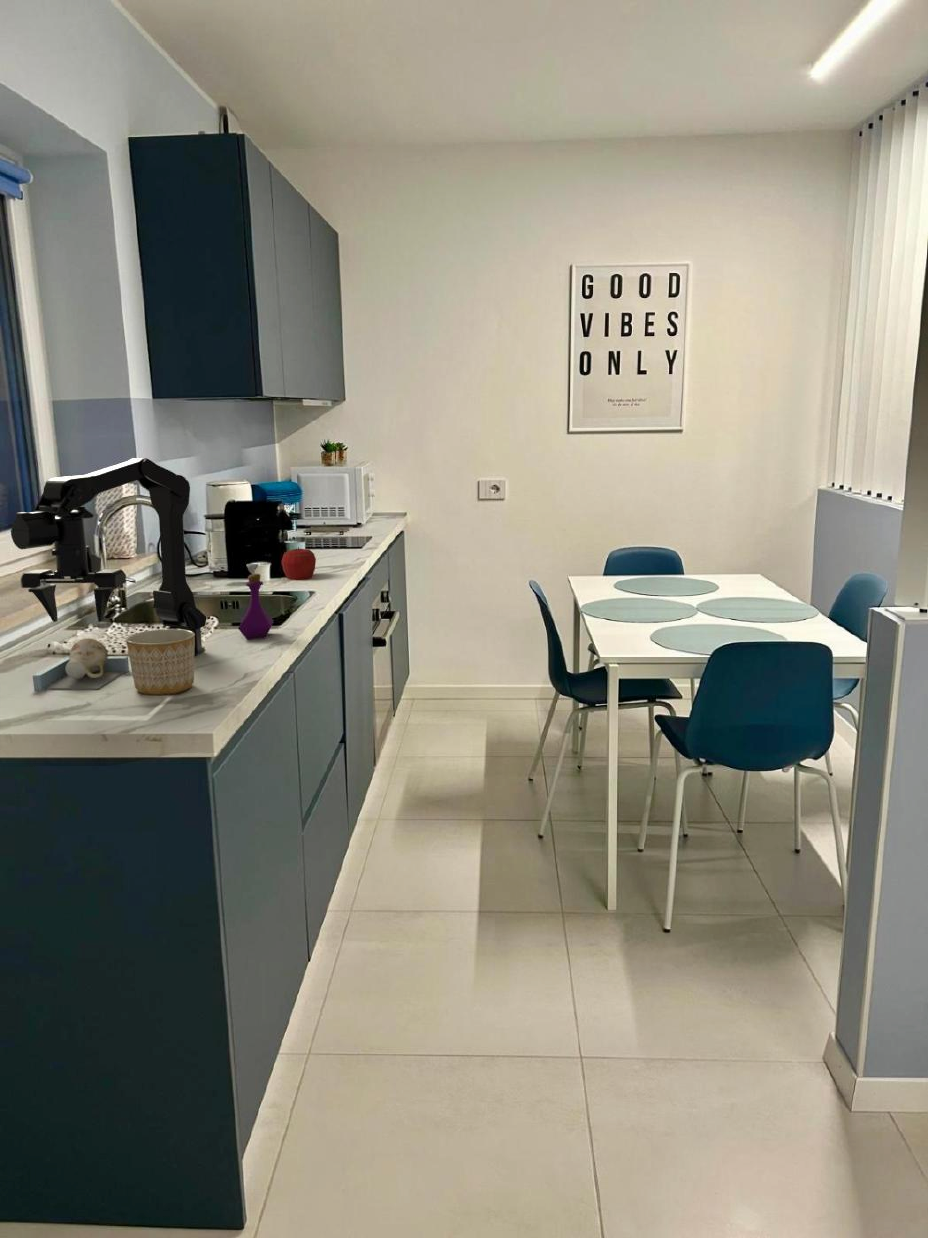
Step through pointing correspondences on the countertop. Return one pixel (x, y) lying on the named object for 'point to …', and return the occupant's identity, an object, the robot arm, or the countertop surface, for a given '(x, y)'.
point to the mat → (85, 682)
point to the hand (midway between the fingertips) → (78, 621)
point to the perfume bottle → (255, 610)
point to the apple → (298, 564)
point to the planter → (162, 660)
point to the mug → (86, 659)
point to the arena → (58, 672)
